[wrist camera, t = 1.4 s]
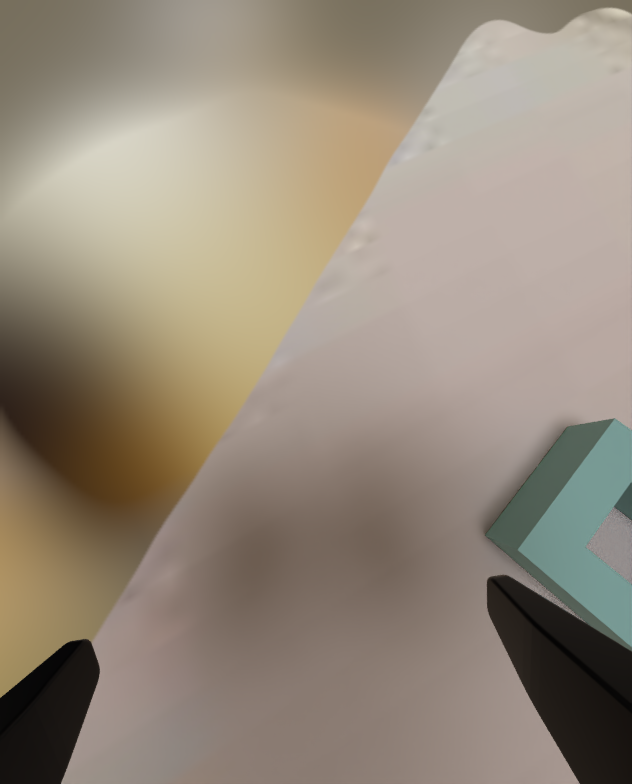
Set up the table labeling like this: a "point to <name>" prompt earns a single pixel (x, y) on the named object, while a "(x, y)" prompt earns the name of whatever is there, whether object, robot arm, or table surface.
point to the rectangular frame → (575, 523)
